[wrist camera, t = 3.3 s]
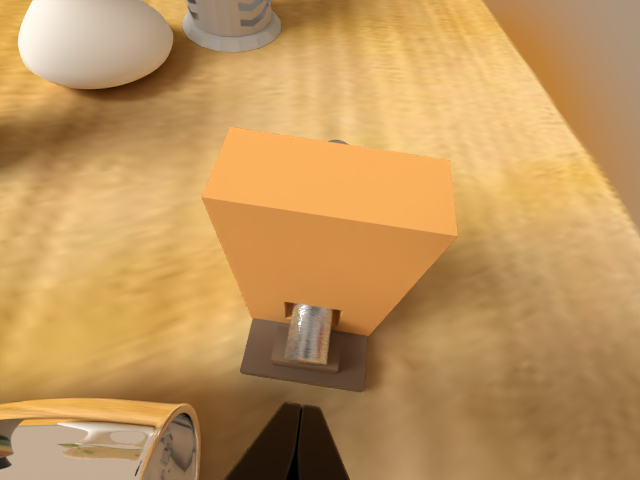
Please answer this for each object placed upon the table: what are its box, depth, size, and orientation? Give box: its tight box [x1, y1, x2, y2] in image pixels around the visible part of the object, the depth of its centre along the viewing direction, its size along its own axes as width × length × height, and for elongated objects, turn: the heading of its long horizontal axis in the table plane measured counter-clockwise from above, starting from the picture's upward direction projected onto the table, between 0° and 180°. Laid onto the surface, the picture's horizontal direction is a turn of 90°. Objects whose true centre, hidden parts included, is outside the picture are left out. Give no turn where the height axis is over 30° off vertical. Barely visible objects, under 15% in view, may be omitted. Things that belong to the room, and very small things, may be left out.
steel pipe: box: [284, 140, 348, 366], centre depth 16 cm, size 12×2×2 cm, turn 172°
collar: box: [202, 127, 458, 336], centre depth 12 cm, size 2×6×10 cm, turn 82°
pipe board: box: [240, 318, 367, 392], centre depth 17 cm, size 13×8×5 cm, turn 172°
